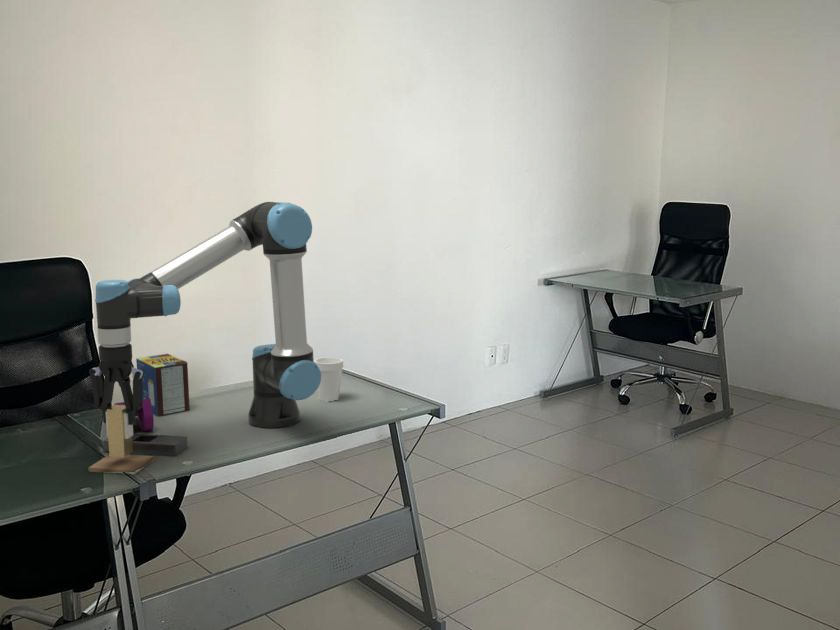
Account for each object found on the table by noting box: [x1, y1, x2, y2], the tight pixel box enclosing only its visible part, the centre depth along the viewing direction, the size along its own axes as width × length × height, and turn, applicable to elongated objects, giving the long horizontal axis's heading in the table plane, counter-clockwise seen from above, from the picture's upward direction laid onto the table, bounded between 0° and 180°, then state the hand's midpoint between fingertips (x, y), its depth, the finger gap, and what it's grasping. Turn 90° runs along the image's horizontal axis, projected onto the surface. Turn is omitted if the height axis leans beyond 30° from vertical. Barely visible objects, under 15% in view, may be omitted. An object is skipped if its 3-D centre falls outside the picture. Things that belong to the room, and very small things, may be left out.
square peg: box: [107, 404, 133, 457], centre depth 191 cm, size 4×4×12 cm
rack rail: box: [102, 432, 188, 457], centre depth 204 cm, size 20×7×3 cm, turn 81°
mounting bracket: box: [112, 398, 155, 432], centre depth 222 cm, size 9×8×18 cm
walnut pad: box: [87, 454, 155, 473], centre depth 192 cm, size 12×10×1 cm
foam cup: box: [314, 356, 344, 402], centre depth 252 cm, size 10×9×13 cm
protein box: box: [135, 353, 190, 417], centre depth 240 cm, size 10×15×16 cm
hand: (120, 436), depth 191 cm, fingers closed on square peg, 4 cm apart
